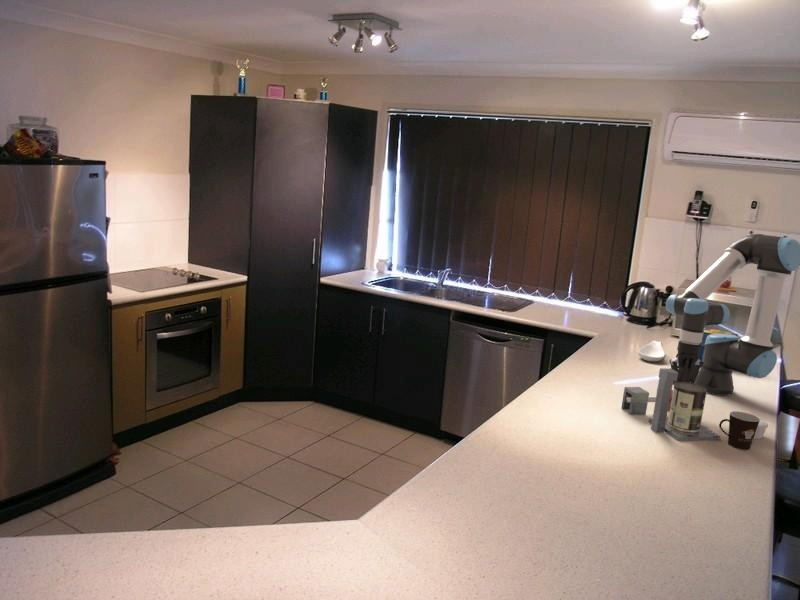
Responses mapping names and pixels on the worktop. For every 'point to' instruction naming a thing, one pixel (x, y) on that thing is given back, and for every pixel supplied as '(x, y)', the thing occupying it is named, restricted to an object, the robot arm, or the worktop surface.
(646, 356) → the spoon rest
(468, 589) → the worktop surface
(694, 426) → the coffee can
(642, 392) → the press
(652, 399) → the lever
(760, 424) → the ramekin
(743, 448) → the coffee mug
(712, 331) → the protein box
